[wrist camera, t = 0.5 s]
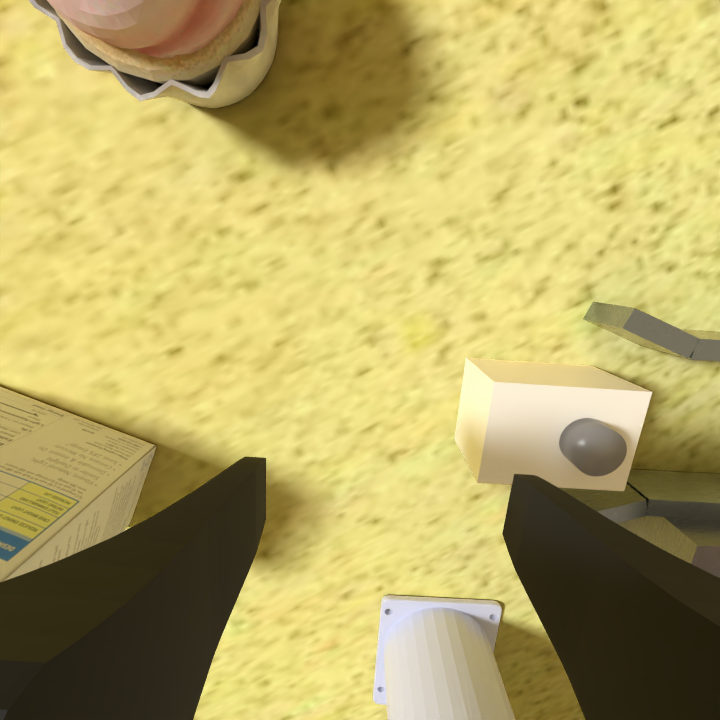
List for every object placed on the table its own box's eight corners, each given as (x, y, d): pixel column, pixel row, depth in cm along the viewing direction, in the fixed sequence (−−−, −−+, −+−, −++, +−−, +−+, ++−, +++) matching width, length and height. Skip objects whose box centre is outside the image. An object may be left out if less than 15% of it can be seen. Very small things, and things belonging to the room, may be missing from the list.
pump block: (570, 445, 21) (643, 507, 16) (453, 438, 21) (485, 498, 16) (589, 364, 20) (675, 401, 15) (465, 356, 20) (504, 391, 15)
